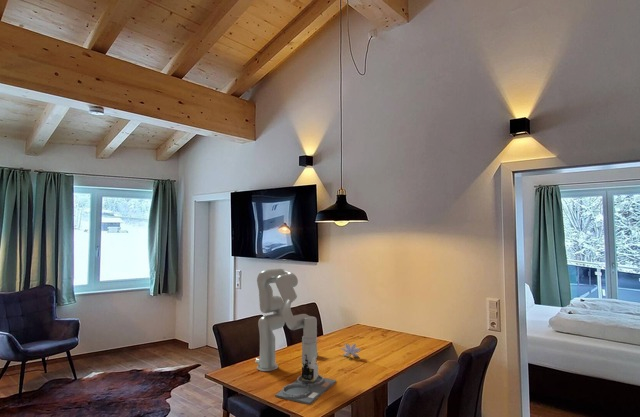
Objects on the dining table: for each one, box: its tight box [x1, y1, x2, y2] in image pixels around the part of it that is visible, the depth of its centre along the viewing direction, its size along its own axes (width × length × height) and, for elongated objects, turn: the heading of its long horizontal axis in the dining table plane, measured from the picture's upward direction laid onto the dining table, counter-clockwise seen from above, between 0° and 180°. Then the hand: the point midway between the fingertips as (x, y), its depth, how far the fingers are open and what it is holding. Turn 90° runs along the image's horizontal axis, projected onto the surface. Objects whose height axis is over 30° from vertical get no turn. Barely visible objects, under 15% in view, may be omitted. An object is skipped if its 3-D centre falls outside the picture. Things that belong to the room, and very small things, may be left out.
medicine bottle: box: [301, 357, 319, 382], centre depth 206 cm, size 7×7×12 cm
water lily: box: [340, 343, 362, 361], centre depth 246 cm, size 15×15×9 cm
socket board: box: [274, 377, 337, 405], centre depth 198 cm, size 20×30×1 cm, turn 153°
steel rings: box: [282, 374, 324, 398], centre depth 199 cm, size 14×29×2 cm, turn 153°
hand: (310, 372), depth 206 cm, fingers closed on medicine bottle, 7 cm apart
